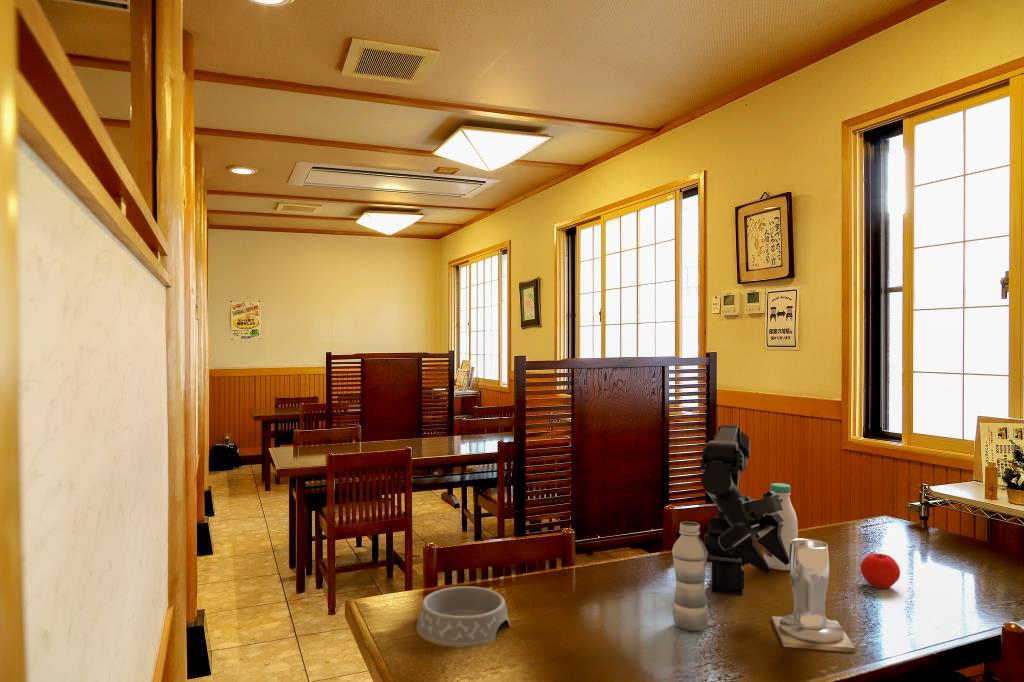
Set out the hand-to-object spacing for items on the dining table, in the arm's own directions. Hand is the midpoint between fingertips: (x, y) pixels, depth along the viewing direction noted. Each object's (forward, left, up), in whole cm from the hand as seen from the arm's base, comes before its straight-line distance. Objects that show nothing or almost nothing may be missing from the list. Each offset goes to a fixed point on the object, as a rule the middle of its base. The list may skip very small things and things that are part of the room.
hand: (778, 568), depth 134 cm
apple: (+26, +25, -11) cm, 37 cm away
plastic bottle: (-17, -6, -11) cm, 21 cm away
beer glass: (+5, -4, -9) cm, 11 cm away
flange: (+5, -5, -11) cm, 13 cm away
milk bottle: (+7, +36, -11) cm, 38 cm away
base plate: (+5, -5, -11) cm, 13 cm away
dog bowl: (-60, -14, -11) cm, 63 cm away
